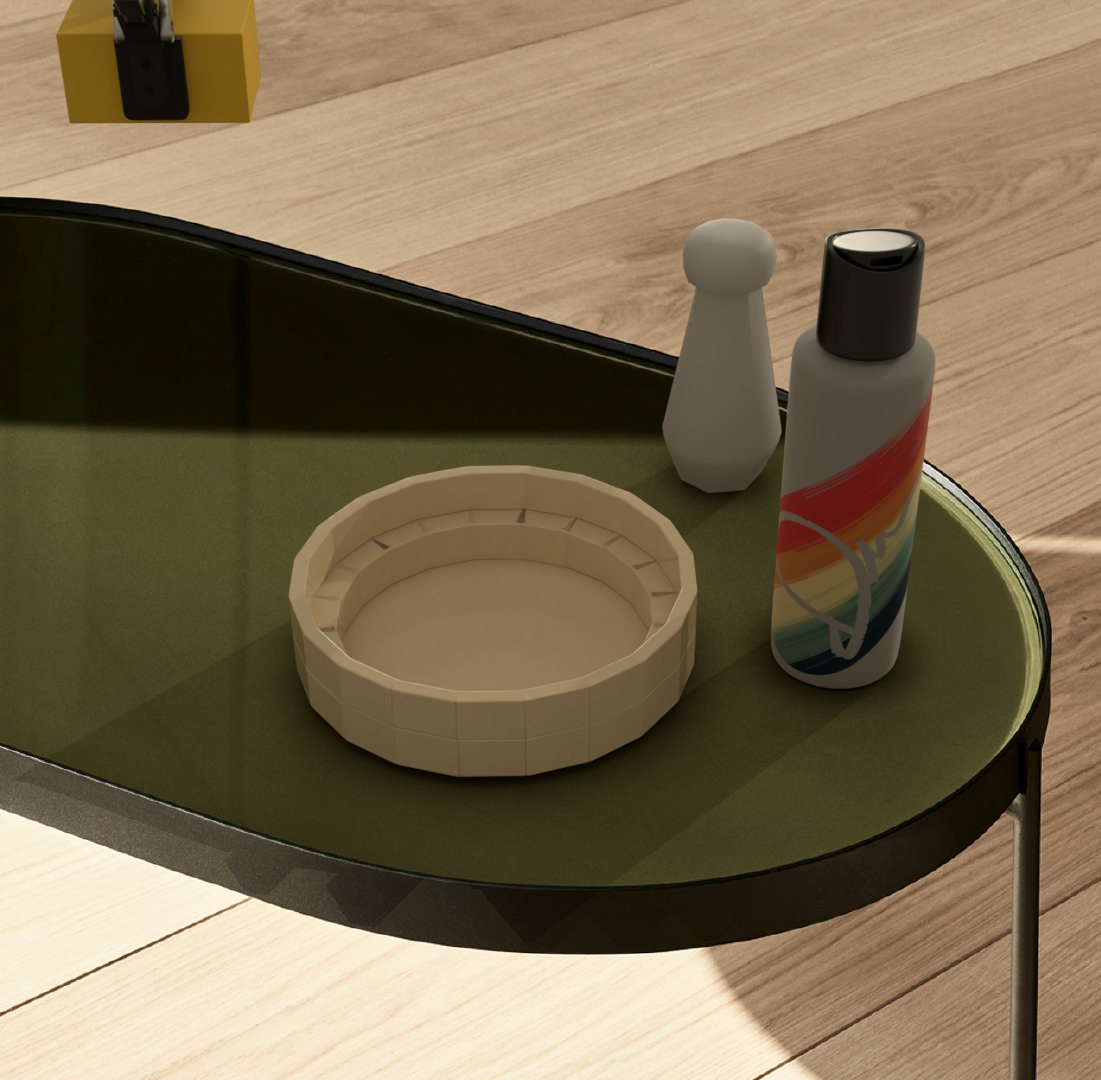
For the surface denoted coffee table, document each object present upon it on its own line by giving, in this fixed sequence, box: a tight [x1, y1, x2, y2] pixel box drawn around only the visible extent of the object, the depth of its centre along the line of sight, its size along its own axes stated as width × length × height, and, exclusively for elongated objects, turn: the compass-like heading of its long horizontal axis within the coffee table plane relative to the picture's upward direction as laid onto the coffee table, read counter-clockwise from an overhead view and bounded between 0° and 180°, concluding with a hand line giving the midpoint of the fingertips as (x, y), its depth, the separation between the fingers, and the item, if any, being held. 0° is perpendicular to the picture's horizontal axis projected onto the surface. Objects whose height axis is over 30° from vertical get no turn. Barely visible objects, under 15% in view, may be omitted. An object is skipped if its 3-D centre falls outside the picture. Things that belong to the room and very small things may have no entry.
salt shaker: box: [662, 218, 783, 494], centre depth 96 cm, size 6×6×13 cm
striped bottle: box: [770, 227, 936, 690], centre depth 82 cm, size 6×6×20 cm
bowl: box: [287, 464, 698, 778], centre depth 87 cm, size 17×17×4 cm
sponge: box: [55, 0, 262, 124], centre depth 100 cm, size 9×6×4 cm, turn 91°
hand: (165, 88), depth 101 cm, fingers closed on sponge, 6 cm apart
